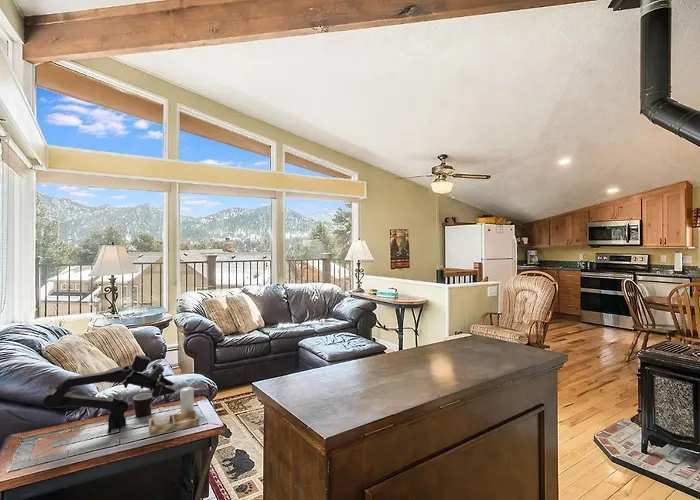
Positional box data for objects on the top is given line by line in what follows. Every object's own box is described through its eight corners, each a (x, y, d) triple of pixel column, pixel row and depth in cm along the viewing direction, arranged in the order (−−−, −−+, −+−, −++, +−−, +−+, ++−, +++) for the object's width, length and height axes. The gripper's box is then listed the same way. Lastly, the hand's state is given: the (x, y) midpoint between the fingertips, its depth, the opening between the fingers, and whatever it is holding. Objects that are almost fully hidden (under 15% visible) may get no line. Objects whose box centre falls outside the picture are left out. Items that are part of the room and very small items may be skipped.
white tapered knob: (181, 419, 187) (181, 392, 187) (180, 414, 193) (179, 388, 192) (194, 416, 190) (194, 390, 190) (192, 411, 195) (192, 386, 195)
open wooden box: (149, 437, 170) (149, 429, 170) (148, 427, 179) (148, 419, 179) (198, 427, 179) (198, 419, 179) (195, 417, 189) (194, 410, 189)
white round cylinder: (154, 431, 173) (154, 422, 172) (153, 425, 178) (153, 417, 178) (170, 428, 176) (170, 419, 176) (169, 422, 181) (169, 414, 181)
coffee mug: (144, 421, 185) (144, 400, 185) (129, 419, 187) (128, 399, 186) (161, 411, 196) (161, 391, 196) (146, 409, 198) (146, 390, 198)
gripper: (149, 370, 175) (183, 379, 183) (148, 357, 192) (179, 365, 199) (138, 394, 174) (172, 402, 181) (138, 378, 190) (170, 386, 197)
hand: (174, 387), depth 190 cm, fingers open, 9 cm apart
